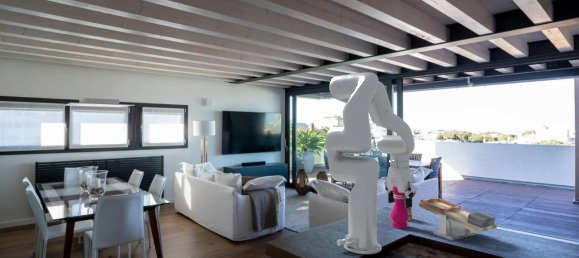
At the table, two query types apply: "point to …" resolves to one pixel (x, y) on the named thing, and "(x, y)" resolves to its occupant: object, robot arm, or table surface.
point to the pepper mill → (399, 210)
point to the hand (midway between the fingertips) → (399, 204)
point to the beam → (459, 215)
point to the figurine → (409, 212)
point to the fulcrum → (452, 229)
